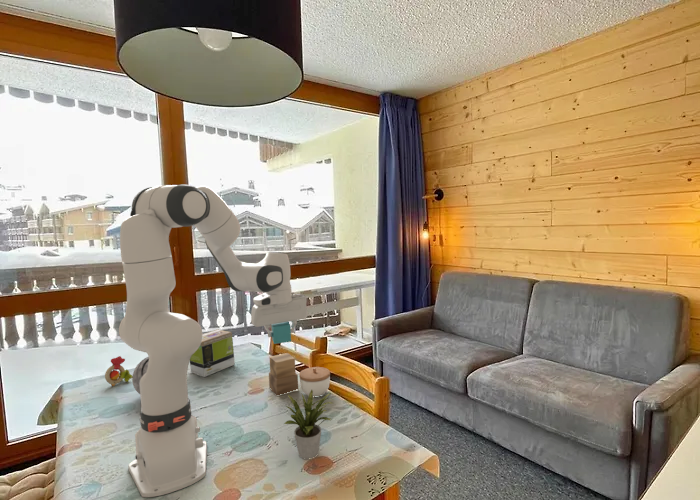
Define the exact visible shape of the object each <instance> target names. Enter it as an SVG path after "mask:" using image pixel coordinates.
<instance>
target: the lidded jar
mask: <svg viewBox="0 0 700 500" xmlns="http://www.w3.org/2000/svg"><path fill="white" fill-rule="evenodd" d="M298 378H299V383H300V388H301V391H302V392H303V393H304V394H305V395H306V396H307V395H308V396H309V394H310V392H311V389H312V391H313V396H314V397H315V396H320V395H323V394H324V395H325V393H326V392H327V391H328V389H329V387H330V384H331V383H330V381H331V370H329V369H328V368H326V367H323V366H322V367H321V366H313V367H307V368H305V369H302V370H301V371H300V372H299V374H298ZM324 395H323V396H324ZM308 396H307V397H308Z"/></svg>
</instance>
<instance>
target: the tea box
mask: <svg viewBox="0 0 700 500" xmlns="http://www.w3.org/2000/svg"><path fill="white" fill-rule="evenodd" d="M235 363H236V362H235V351H234V341H233V332H232V331H227V330H222V329H214V330H212V331H208V332H205V333H202V341H201V344H200V346H199V348H198V349H197V351H196V352H195V353H194V354H193V355H192V356H191V358H190V361H189V367H190V372H191V373H192V374H195V375H197V376H200V377H204V378H205V377H208V376H210V375H212V374H215V373H217V372H219V371H222V370H225V369H228V368H231V367H233V366H234V365H236V364H235Z"/></svg>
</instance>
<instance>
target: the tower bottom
mask: <svg viewBox="0 0 700 500" xmlns="http://www.w3.org/2000/svg"><path fill="white" fill-rule="evenodd" d="M268 380H269V381H268V383H269V384H268V385H269V389H270V388H271V389H272V390H271V389H270V390H271V391H272V393H275V394H276V395H280V394H284V393H287V392H290V391H293V390H296V389H298V390H299V374H298V373H296V375H292V376H288V377H284V378H280V379H276V378H275V377H274V376H273V375H272V374H271V373H270V371H269V372H268ZM275 394H274V395H275ZM276 395H275V396H276ZM284 395H285V394H284Z"/></svg>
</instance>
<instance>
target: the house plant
mask: <svg viewBox="0 0 700 500" xmlns="http://www.w3.org/2000/svg"><path fill="white" fill-rule="evenodd" d="M300 394H301V396H302V402H303V405H301V407H304V413H305V414H303V412H302V410H301V408H300V405H299V403H298V401H297V400H296V399H295V398H293V396H292V395H290V394H289V393H288V394H286V395H287V396H288V398H289V399H290V401H291V402H290V403H292V405H293V407H294V409H293V408H292V407H290V406H288V405H285V407H286V408H287V409H289V410H290V411H291V412H292V413H293V414H290V417H291V419H292V420H291V419H289V420H286V421H285V422H284V423H283V425H297V427H296V428H295V429H294V433H293V434H294V438H295V444H296V448H297V452H298V456H299V457H300V458H301V457H302V458H301V459H303V458H305V459H304V460H310V459H309V458H312V459H314V458H313V457H315V456H316V455H317V454H318V455H319V452H320V443H321V438H322V437H321V436H322V427H321V426H320V425H321V424H322V423H323V422H325V421H327V420H328V421H330V422H331V420H332V419H331V418H329V417H327V416H321V415H322V414H323V413H324V412H328V410H327V409H324V408H326V406H327V404H330V405H331V404H333V402H332V401H326V400H328V399H329V397H328V396H330V395H331V394H332V392H329V393H328V394H326V395H323V396H322V398H321V399H319V400H317V401H315V402H314V398H313V391H312V389H311V392H310V394H309V396H307V400H306V398H305V395H304V394H303V393H300ZM325 401H326V402H325ZM315 404H316V405H315ZM313 406H315V407H313ZM304 416H305V417H304ZM320 420H321V422H319V421H320ZM317 422H319V424H316V423H317ZM318 455H317V456H318ZM317 456H316V457H317ZM316 457H315V458H316Z"/></svg>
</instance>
